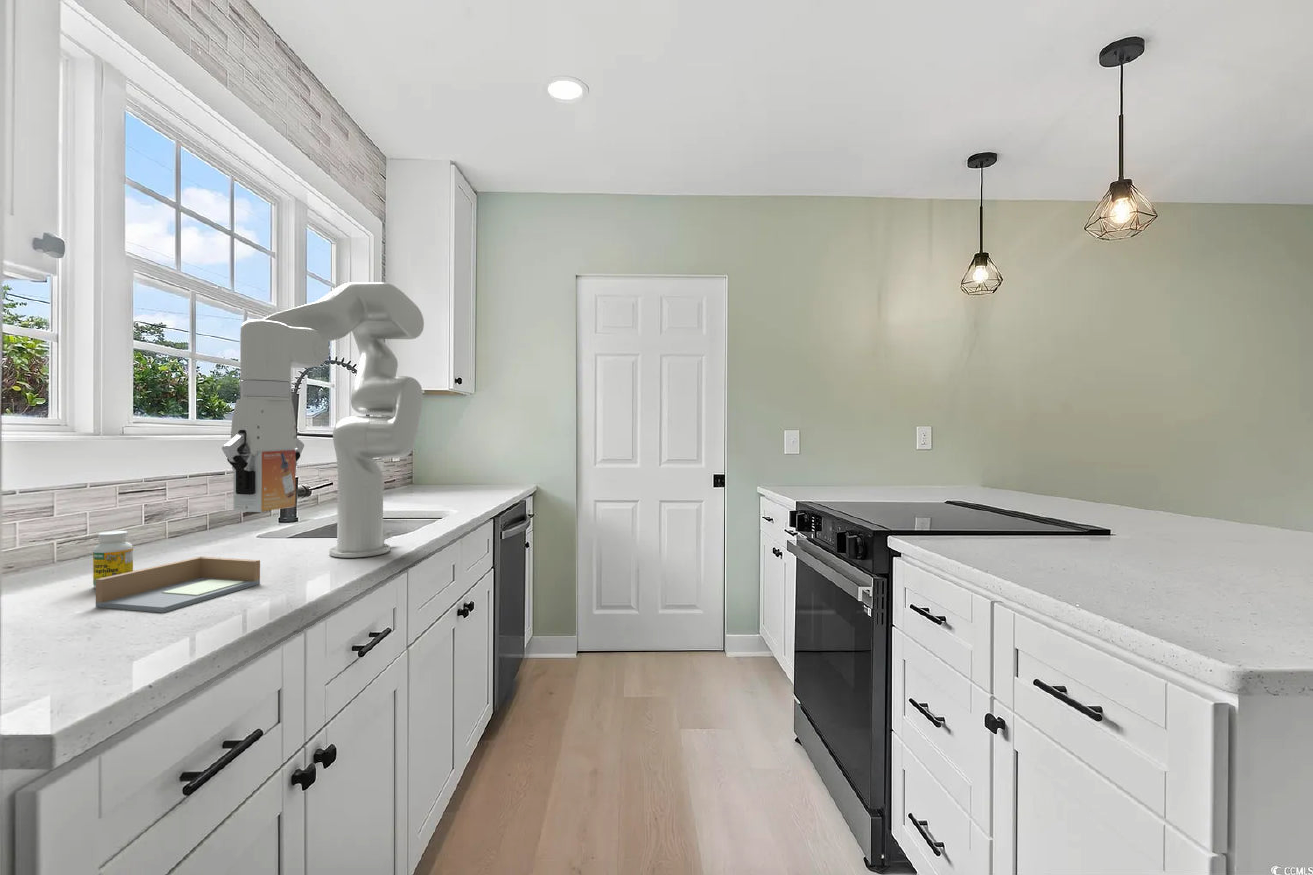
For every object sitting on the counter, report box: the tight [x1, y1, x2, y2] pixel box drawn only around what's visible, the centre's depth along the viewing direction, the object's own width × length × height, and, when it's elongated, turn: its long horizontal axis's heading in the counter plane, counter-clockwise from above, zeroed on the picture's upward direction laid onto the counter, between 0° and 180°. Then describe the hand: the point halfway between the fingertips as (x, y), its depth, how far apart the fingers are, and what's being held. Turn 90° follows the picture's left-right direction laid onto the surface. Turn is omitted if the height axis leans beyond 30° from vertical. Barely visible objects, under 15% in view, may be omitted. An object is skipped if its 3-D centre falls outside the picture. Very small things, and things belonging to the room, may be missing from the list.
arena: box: [95, 556, 261, 613], centre depth 104 cm, size 18×13×4 cm
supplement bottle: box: [92, 530, 134, 589], centre depth 109 cm, size 5×5×10 cm
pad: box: [162, 579, 244, 596], centre depth 105 cm, size 9×7×1 cm
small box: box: [233, 449, 296, 513], centre depth 107 cm, size 8×6×10 cm
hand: (266, 491), depth 107 cm, fingers closed on small box, 8 cm apart
